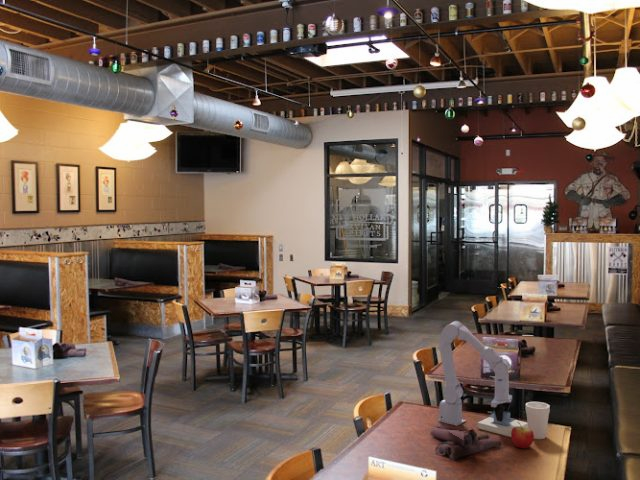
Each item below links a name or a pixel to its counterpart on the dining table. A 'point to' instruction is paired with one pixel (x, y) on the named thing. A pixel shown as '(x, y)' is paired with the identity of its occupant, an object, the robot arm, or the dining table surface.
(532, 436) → the apple
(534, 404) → the foam cup
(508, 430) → the chassis plate
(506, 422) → the servo
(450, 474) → the dining table surface
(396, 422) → the dining table surface
